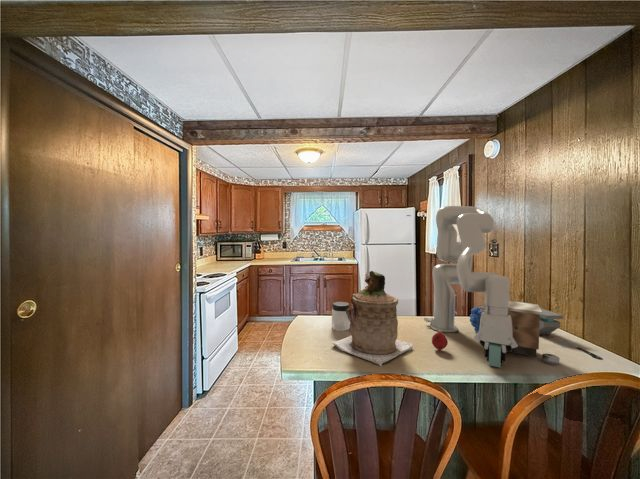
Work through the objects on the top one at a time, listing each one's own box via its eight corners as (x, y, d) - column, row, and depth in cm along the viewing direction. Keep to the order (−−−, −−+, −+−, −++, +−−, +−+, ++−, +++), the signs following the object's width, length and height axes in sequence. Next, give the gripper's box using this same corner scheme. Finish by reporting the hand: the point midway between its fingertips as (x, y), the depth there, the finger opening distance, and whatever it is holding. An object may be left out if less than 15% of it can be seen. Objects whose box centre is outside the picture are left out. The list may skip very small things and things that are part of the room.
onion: (440, 354, 113) (440, 334, 113) (428, 349, 118) (428, 329, 118) (450, 351, 116) (450, 331, 115) (438, 346, 121) (438, 327, 121)
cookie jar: (415, 348, 118) (417, 270, 117) (380, 368, 101) (382, 276, 100) (365, 332, 136) (367, 264, 135) (329, 347, 119) (330, 268, 118)
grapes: (462, 328, 143) (463, 304, 143) (475, 328, 144) (476, 304, 143) (476, 337, 131) (477, 311, 131) (491, 337, 132) (491, 311, 131)
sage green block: (488, 365, 103) (489, 345, 103) (490, 347, 119) (490, 330, 119) (500, 367, 101) (500, 347, 101) (500, 349, 117) (501, 332, 117)
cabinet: (483, 352, 115) (484, 305, 114) (484, 341, 126) (486, 298, 126) (540, 364, 106) (542, 312, 105) (536, 351, 117) (538, 304, 116)
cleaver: (578, 359, 111) (606, 360, 110) (578, 357, 111) (606, 359, 110) (530, 332, 140) (552, 333, 139) (530, 331, 140) (552, 332, 139)
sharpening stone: (505, 322, 155) (506, 301, 154) (520, 321, 155) (520, 301, 155) (545, 339, 130) (546, 315, 130) (562, 339, 130) (562, 315, 130)
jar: (351, 331, 138) (352, 305, 138) (335, 332, 136) (335, 306, 136) (346, 324, 147) (346, 301, 146) (330, 325, 145) (330, 301, 145)
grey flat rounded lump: (544, 364, 106) (544, 357, 106) (540, 358, 111) (540, 352, 111) (561, 367, 104) (561, 360, 104) (556, 361, 109) (557, 355, 109)
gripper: (469, 309, 106) (468, 359, 107) (525, 316, 97) (523, 371, 98) (471, 304, 112) (469, 352, 113) (523, 311, 104) (521, 362, 104)
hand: (494, 360), depth 105 cm, fingers closed on sage green block, 3 cm apart
